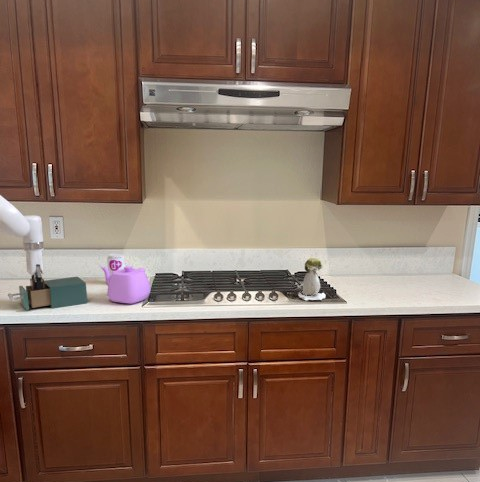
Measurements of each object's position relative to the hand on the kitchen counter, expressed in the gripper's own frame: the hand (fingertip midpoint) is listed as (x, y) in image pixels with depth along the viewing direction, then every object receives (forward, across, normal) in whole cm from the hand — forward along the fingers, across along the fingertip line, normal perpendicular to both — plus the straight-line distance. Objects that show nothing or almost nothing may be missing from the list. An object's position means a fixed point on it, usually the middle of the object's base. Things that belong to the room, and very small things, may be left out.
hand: (37, 289), depth 193 cm
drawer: (+6, 0, -2) cm, 7 cm away
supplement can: (+7, -17, +40) cm, 44 cm away
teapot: (+7, +10, +35) cm, 37 cm away
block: (0, 0, 0) cm, 0 cm away
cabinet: (+7, 0, +11) cm, 13 cm away
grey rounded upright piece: (+7, +50, +108) cm, 119 cm away
